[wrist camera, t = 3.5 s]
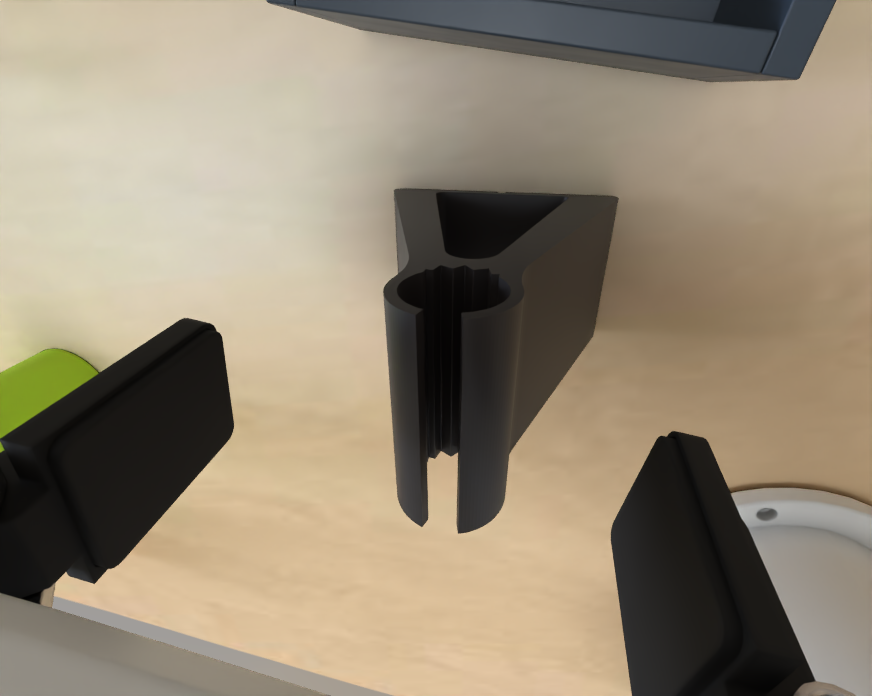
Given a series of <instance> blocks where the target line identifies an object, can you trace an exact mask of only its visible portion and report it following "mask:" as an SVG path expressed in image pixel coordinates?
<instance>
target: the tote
mask: <svg viewBox="0 0 872 696" xmlns="http://www.w3.org/2000/svg"><path fill="white" fill-rule="evenodd" d="M266 1H267V2H268V3H270V4H274V5H277V6H281V7H284V8H287V9H291V10H294V11H298V12H301V13H305V14H308V15H312V16H315V17H318V18H322V19H325V20H329V21H332V22H336V23H339V24H342V25H346V26H349V27H353V28H357V29H360V30H365V31H372V32H378V33H385V34H392V35H398V36H405V37H412V38H419V39H425V40H432V41H439V42H445V43H452V44H459V45H465V46H472V47H479V48H485V49H492V50H499V51H506V52H512V53H519V54H526V55H532V56H539V57H546V58H552V59H559V60H566V61H572V62H579V63H586V64H593V65H599V66H606V67H613V68H619V69H626V70H633V71H639V72H646V73H653V74H660V75H666V76H673V77H680V78H686V79H693V80H700V81H706V82H734V81H771V80H797V79H799V78H800V76H801V74H802V72H803V70H804V68H805V66H806V63H807V61H808V59H809V57H810V55H811V53H812V51H813V49H814V46H815V44H816V42H817V40H818V38H819V36H820V34H821V32H822V29H823V27H824V25H825V23H826V21H827V19H828V17H829V15H830V13H831V10H832V8H833V6H834V4H835V2H836V0H266Z"/></svg>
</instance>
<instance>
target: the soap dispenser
mask: <svg viewBox="0 0 872 696" xmlns="http://www.w3.org/2000/svg"><path fill="white" fill-rule="evenodd" d="M97 374H99V373H98V372H97V371H96V370H95V369H94V368H93V367H92V366H91V365H90V364H88V363H87V362H86V361H84V360H83V359H81V358H80V357H78V356H76V355H74V354H72V353H70V352H67V351H64V350H60V349H47V350H44V351H42V352H40V353H38V354H36V355H34V356H32V357H30V358H28V359H26V360H24V361H22V362H20V363H18V364H17V365H15V366H13V367H11V368H9V369H7V370H5V371H3V372H1V373H0V438H2V437H3V436H5V435H6V434H8V433H9V432H11V431H12V430H14V429H15V428H17V427H19V426H20V425H22V424H23V423H25V422H26V421H28V420H29V419H31V418H32V417H34V416H35V415H37V414H38V413H40V412H41V411H43V410H44V409H46V408H47V407H49V406H50V405H52V404H53V403H55V402H56V401H58V400H59V399H61V398H62V397H64V396H65V395H67V394H69V393H70V392H72V391H73V390H75V389H76V388H78V387H79V386H81V385H82V384H84V383H85V382H87V381H88V380H90V379H91V378H93V377H94V376H96V375H97ZM2 451H4V448H3V446H2V444H1V442H0V453H1V452H2Z"/></svg>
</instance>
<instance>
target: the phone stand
mask: <svg viewBox="0 0 872 696" xmlns="http://www.w3.org/2000/svg"><path fill="white" fill-rule="evenodd" d="M394 201H395V221H396V241H397V260H398V275H396V276H395V277H394V278H392V279H391V280H390V281H389V282H388V283H387V284H386V285H385V287H384V291H383V293H384V307H385V322H386V337H387V351H388V366H389V380H390V395H391V409H392V424H393V438H394V453H395V467H396V482H397V495H398V500H399V503H400V506H401V508H402V509H403V511H404V512H405V514H406V515H407V516H408V517H409V518H410V519H411V520H412V521H414V522H415V523H416V524H418V525H420V526H421V527H423V525H424V524H425V523H426V521H427V520H428V490H427V462H428V459H429V457H431V458H434V459H435V458H436V457H437V455H438V454H439V453H440V451H442V452H444V453H446V454H448V455H449V456H453V455H454V454H456V453H458V485H457V530H458V534H459V533H466V532H470V531H473V530H476V529H478V528H480V527H482V526H484V525H486V524H487V523H489V522H490V521H491V520H492V519H494V518H495V516H496V515H497V514H498V513H499V511H500V510H501V508H502V506H503V503H504V500H505V492H506V481H507V471H508V460H509V454H510V452H511V450H512V449H513V447H514V446H515V444H516V443H517V442H518V440H519V439H520V437H521V436H522V435H523V433H524V432H525V431H526V429H527V428H528V426H529V425H530V424H531V422H532V421H533V419H534V418H535V417H536V415H537V414H538V412H539V411H540V410H541V408H542V407H543V405H544V404H545V403H546V401H547V400H548V398H549V397H550V396H551V394H552V393H553V391H554V390H555V389H556V387H557V386H558V384H559V383H560V382H561V380H562V379H563V377H564V376H565V375H566V373H567V372H568V370H569V369H570V368H571V366H572V365H573V363H574V362H575V361H576V359H577V358H578V356H579V355H580V354H581V352H582V351H583V349H584V348H585V347H586V345H587V344H588V343H589V341H590V340H591V338H592V337H593V334H594V329H595V323H596V318H597V312H598V307H599V301H600V296H601V290H602V285H603V280H604V274H605V269H606V263H607V258H608V252H609V247H610V241H611V236H612V231H613V225H614V220H615V214H616V209H617V203H618V198H617V197H614V196H597V195H570V194H542V193H515V192H506V193H498V192H487V191H459V190H432V189H395V190H394Z"/></svg>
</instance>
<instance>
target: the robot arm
mask: <svg viewBox="0 0 872 696" xmlns="http://www.w3.org/2000/svg"><path fill="white" fill-rule="evenodd" d="M233 429H234V421H233V414H232V406H231V399H230V392H229V385H228V377H227V370H226V363H225V355H224V348H223V341H222V336H221V334H220V333H218V332H217V331H216V328H215V327H214V325H212V324H210V323H206V322H202V321H197V320H193V319H189V318H183V319H181V320H179V321H178V322H176V323H175V324H173V325H172V326H170V327H169V328H167V329H166V330H164V331H162V332H161V333H159V334H158V335H156V336H155V337H153V338H152V339H150V340H149V341H147V342H146V343H144V344H143V345H141V346H140V347H138V348H137V349H135V350H134V351H132V352H131V353H129V354H128V355H126V356H125V357H123V358H122V359H120V360H119V361H117V362H116V363H114V364H112V365H111V366H109V367H108V368H106V369H105V370H103V371H102V372H100V373H99V374H97V375H96V376H94V377H93V378H91V379H90V380H88V381H87V382H85V383H84V384H82V385H81V386H79V387H78V388H76V389H75V390H73V391H72V392H70V393H69V394H67V395H65V396H64V397H62V398H61V399H59V400H58V401H56V402H55V403H53V404H52V405H50V406H49V407H47V408H46V409H44V410H43V411H41V412H40V413H38V414H37V415H35V416H34V417H32V418H31V419H29V420H28V421H26V422H25V423H23V424H22V425H20V426H19V427H17V428H15V429H14V430H12V431H11V432H9V433H8V434H6V435H5V436H3V437H2V438H0V442H1V444H2V446H3V448H4V451H2V452H1V453H0V696H329V695H326V694H323V693H320V692H317V691H314V690H311V689H308V688H304V687H301V686H298V685H295V684H292V683H289V682H285V681H282V680H279V679H276V678H273V677H270V676H266V675H264V674H260V673H257V672H254V671H251V670H248V669H245V668H241V667H238V666H235V665H232V664H229V663H226V662H223V661H219V660H216V659H213V658H210V657H206V656H204V655H200V654H197V653H194V652H191V651H188V650H185V649H181V648H178V647H175V646H172V645H168V644H165V643H162V642H159V641H156V640H153V639H149V638H146V637H143V636H140V635H137V634H133V633H130V632H127V631H124V630H120V629H117V628H114V627H111V626H107V625H105V624H101V623H98V622H95V621H91V620H89V619H85V618H82V617H78V616H76V615H72V614H69V613H66V612H63V611H60V610H56V609H53V608H52V604H53V597H54V590H55V583H56V581H57V580H58V579H59V578H60V577H61V576H62V575H63V574H64V573H65V572H67V574H68V576H71V577H74V578H77V579H80V580H84V581H87V582H90V583H93V584H95V583H96V582H97V581H98V579H99V578H100V577H101V576H102V575H103V574H104V573H105V572H106V570H107V569H111V568H114V567H116V566H117V565H119V564H120V563H121V562H122V561H123V560H124V559H125V557H126V556H127V555H128V554H129V553H130V552H131V551H132V549H133V548H134V547H135V546H136V545H137V544H138V543H139V542H140V540H141V539H142V538H143V537H144V536H145V535H146V534H147V532H148V531H149V530H150V529H151V528H152V527H153V526H154V524H155V523H156V522H157V521H158V520H159V519H160V518H161V517H162V515H163V514H164V513H165V512H166V511H167V510H168V509H169V507H170V506H171V505H172V504H173V503H174V502H175V501H176V499H177V498H178V497H179V496H180V495H181V494H182V493H183V492H184V490H185V489H186V488H187V487H188V486H189V485H190V484H191V482H192V481H193V480H194V479H195V478H196V477H197V476H198V474H199V473H200V472H201V471H202V470H203V469H204V468H205V466H206V465H207V464H208V463H209V462H210V461H211V460H212V459H213V457H214V456H215V455H216V454H217V453H218V452H219V451H220V449H221V448H222V447H223V446H224V445H225V444H226V443H227V441H228V440H229V439H230V437H231V435H232V433H233ZM611 544H612V551H613V559H614V566H615V573H616V581H617V588H618V595H619V603H620V610H621V618H622V625H623V632H624V640H625V647H626V654H627V662H628V669H629V677H630V684H631V691H632V696H872V506H869V505H867V504H864V503H862V502H859V501H857V500H855V499H852V498H849V497H845V496H841V495H837V494H833V493H829V492H825V491H819V490H810V489H801V488H761V489H753V490H745V491H738V492H734V493H730V491H729V489H728V486H727V484H726V482H725V480H724V477H723V475H722V473H721V470H720V468H719V466H718V464H717V461H716V459H715V457H714V454H713V452H712V450H711V448H710V445H709V443H708V442H707V440H706V439H704V438H702V437H698V436H694V435H689V434H685V433H681V432H676V431H672V432H671V433H669V434H668V436H667V437H665V436H660V437H658V439H657V440H656V442H655V444H654V446H653V448H652V449H651V451H650V453H649V455H648V457H647V459H646V461H645V463H644V465H643V467H642V469H641V470H640V472H639V474H638V476H637V478H636V480H635V482H634V484H633V486H632V488H631V490H630V491H629V493H628V495H627V497H626V499H625V501H624V503H623V505H622V507H621V509H620V511H619V512H618V514H617V516H616V518H615V520H614V522H613V525H612V530H611Z"/></svg>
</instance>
